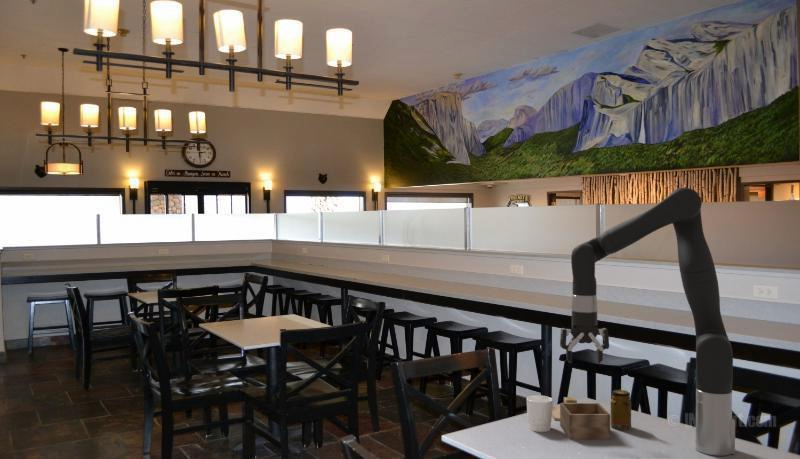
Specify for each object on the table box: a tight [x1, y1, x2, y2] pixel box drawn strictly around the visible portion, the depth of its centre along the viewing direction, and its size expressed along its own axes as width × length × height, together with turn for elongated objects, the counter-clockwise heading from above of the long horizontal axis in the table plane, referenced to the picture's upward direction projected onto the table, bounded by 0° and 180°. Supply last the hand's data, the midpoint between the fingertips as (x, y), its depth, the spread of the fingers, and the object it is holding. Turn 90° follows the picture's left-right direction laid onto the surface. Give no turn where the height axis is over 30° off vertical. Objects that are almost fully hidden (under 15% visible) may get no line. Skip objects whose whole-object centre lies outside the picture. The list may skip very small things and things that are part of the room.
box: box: [559, 402, 611, 440], centre depth 198 cm, size 12×12×8 cm
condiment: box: [610, 389, 632, 431], centre depth 202 cm, size 7×8×12 cm
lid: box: [552, 396, 578, 422], centre depth 216 cm, size 13×13×6 cm
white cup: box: [526, 394, 553, 433], centre depth 202 cm, size 8×8×10 cm
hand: (584, 362), depth 198 cm, fingers open, 8 cm apart
